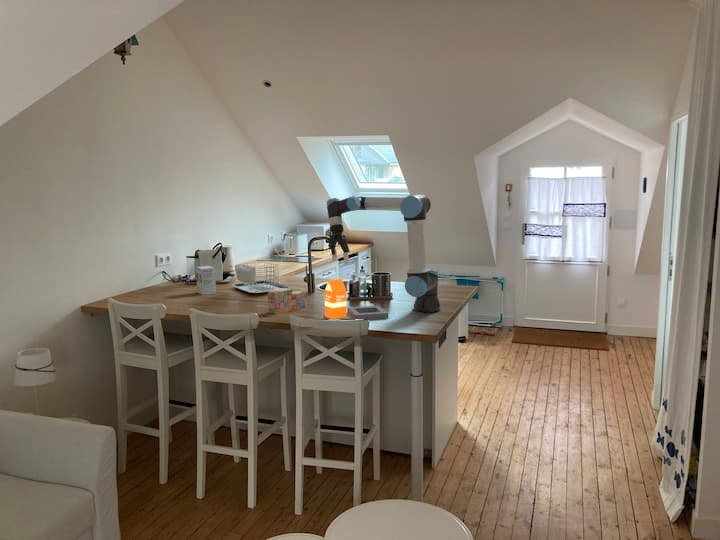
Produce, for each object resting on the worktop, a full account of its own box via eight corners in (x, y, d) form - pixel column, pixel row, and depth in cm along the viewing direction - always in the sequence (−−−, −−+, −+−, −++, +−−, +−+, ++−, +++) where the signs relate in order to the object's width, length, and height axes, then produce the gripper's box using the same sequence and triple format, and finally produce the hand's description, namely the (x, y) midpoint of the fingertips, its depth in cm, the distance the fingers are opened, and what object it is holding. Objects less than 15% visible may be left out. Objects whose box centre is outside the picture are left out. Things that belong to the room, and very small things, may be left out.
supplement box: (196, 292, 382) (195, 266, 379) (210, 291, 388) (209, 265, 385) (202, 295, 374) (201, 268, 372) (216, 293, 380) (215, 267, 377)
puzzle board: (378, 310, 332) (378, 305, 332) (388, 318, 315) (388, 313, 314) (347, 312, 328) (347, 307, 327) (355, 320, 311) (355, 315, 310)
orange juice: (324, 316, 318) (324, 279, 314) (338, 314, 323) (338, 277, 319) (332, 319, 311) (332, 281, 308) (346, 317, 316) (346, 280, 313)
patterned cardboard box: (297, 306, 344) (297, 285, 342) (304, 307, 340) (304, 286, 338) (268, 312, 329) (267, 290, 327) (275, 314, 325) (274, 292, 323)
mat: (345, 314, 324) (345, 313, 324) (350, 319, 313) (350, 318, 313) (323, 315, 321) (323, 314, 321) (327, 321, 310) (327, 320, 310)
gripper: (341, 231, 347) (345, 266, 343) (319, 223, 325) (323, 260, 321) (352, 228, 344) (357, 263, 340) (330, 219, 322) (335, 257, 318)
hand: (341, 262), depth 330 cm, fingers open, 13 cm apart
